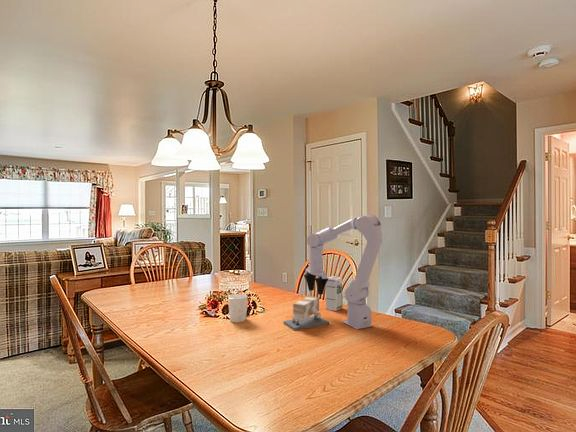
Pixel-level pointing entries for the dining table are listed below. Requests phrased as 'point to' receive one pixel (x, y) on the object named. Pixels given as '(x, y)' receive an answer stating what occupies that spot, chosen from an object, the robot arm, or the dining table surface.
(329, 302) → the syrup box
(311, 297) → the white blocky piece
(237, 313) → the white cup
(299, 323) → the peg stand
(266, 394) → the dining table surface
